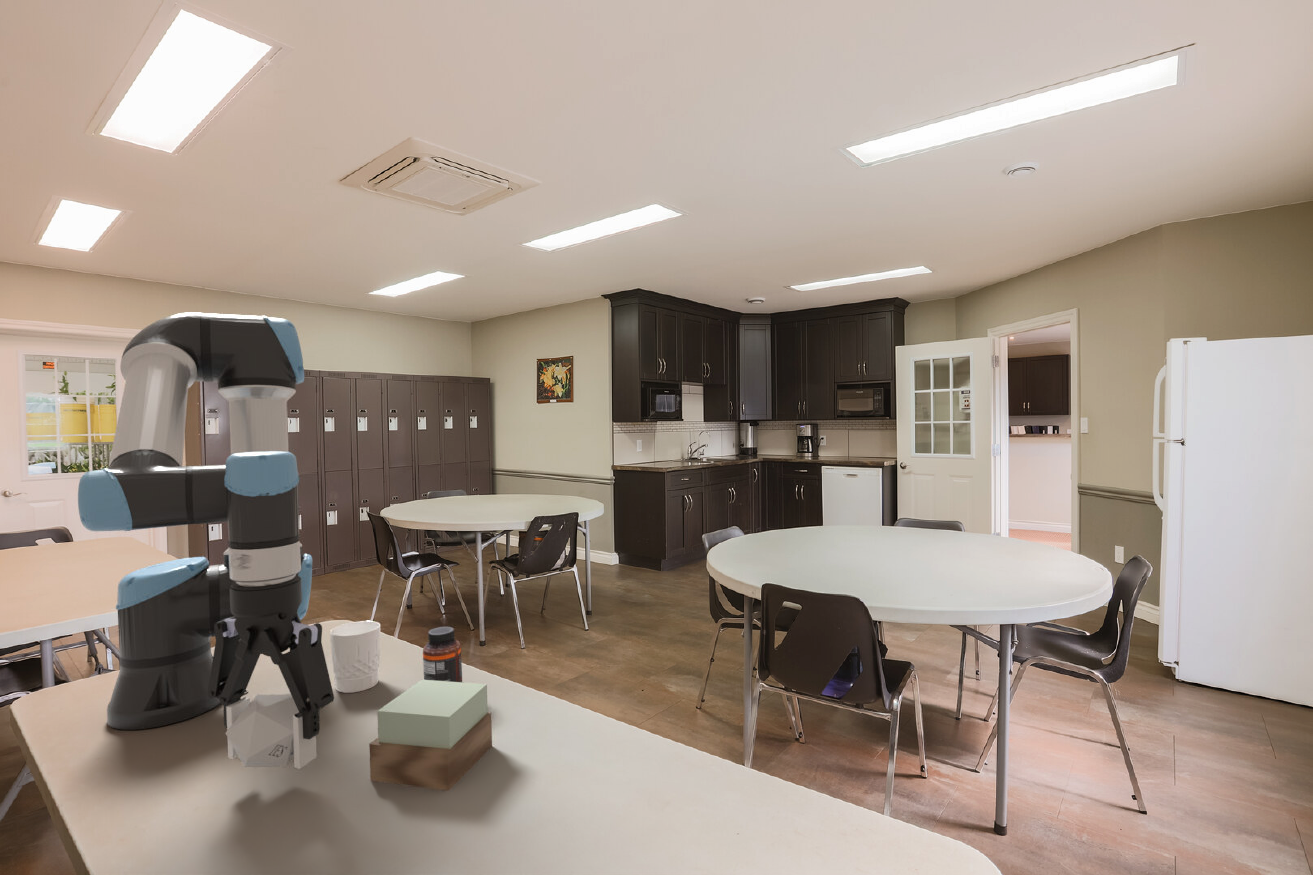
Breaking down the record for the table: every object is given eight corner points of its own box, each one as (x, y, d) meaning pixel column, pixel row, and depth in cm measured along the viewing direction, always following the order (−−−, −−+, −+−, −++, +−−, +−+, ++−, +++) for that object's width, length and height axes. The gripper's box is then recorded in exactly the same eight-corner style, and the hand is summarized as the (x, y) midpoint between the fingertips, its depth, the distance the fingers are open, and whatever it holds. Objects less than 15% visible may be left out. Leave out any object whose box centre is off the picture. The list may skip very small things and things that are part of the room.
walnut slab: (370, 782, 81) (369, 743, 81) (422, 740, 92) (421, 706, 92) (448, 793, 79) (447, 752, 79) (492, 748, 89) (491, 712, 89)
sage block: (378, 742, 82) (377, 710, 82) (422, 707, 92) (421, 679, 91) (450, 748, 80) (449, 716, 80) (487, 712, 89) (486, 684, 89)
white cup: (366, 672, 117) (364, 618, 117) (391, 682, 112) (389, 625, 112) (322, 687, 111) (321, 630, 110) (347, 698, 106) (345, 638, 106)
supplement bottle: (453, 687, 109) (451, 621, 109) (469, 698, 105) (467, 629, 105) (418, 698, 105) (416, 630, 105) (433, 710, 101) (431, 638, 101)
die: (251, 794, 74) (307, 716, 76) (195, 752, 75) (252, 676, 78) (289, 781, 82) (339, 710, 84) (238, 742, 83) (288, 674, 86)
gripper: (165, 580, 78) (173, 762, 79) (318, 591, 73) (324, 786, 74) (221, 566, 85) (227, 732, 86) (363, 575, 80) (368, 752, 81)
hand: (272, 757), depth 80 cm, fingers closed on die, 9 cm apart
